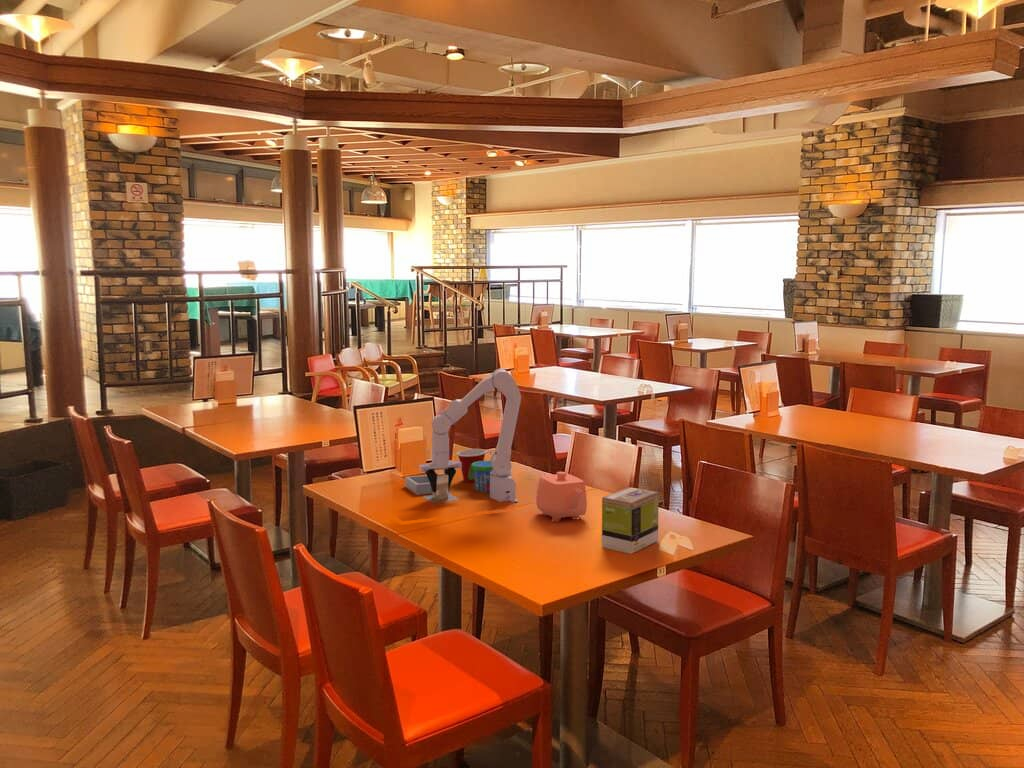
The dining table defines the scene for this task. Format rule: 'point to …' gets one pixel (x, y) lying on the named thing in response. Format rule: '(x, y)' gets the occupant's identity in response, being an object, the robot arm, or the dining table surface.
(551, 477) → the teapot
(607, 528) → the tea box
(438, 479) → the strut
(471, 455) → the plastic cup
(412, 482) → the bin
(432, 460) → the robot arm
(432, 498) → the stud block
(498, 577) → the dining table surface
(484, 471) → the snack cup
